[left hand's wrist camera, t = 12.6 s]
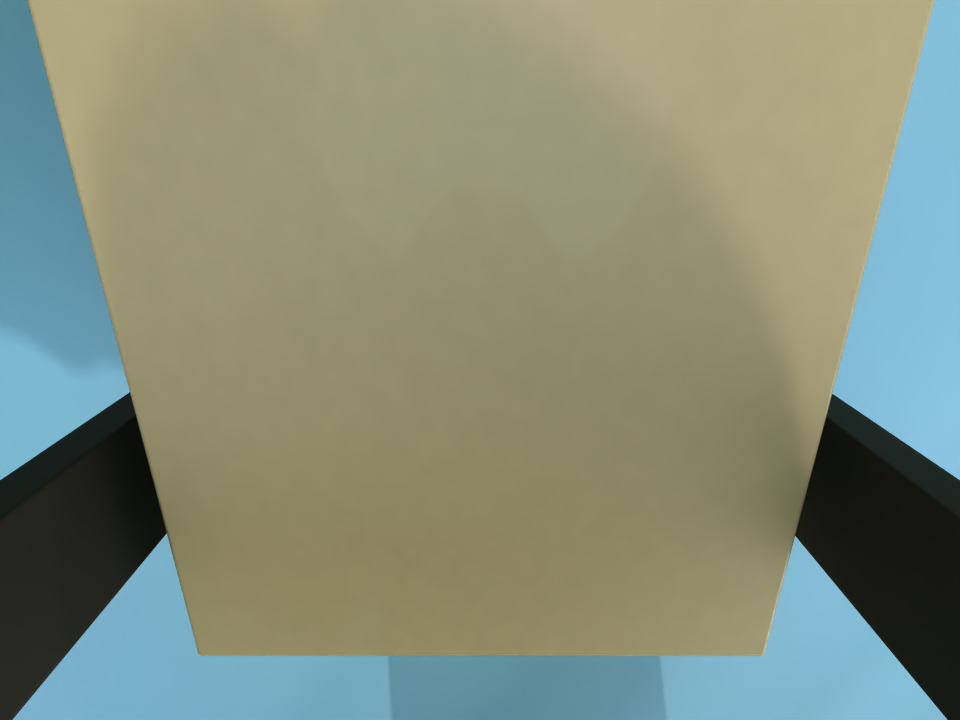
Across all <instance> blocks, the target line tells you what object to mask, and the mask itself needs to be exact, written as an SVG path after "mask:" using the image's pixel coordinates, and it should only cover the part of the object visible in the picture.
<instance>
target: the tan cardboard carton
mask: <svg viewBox="0 0 960 720" xmlns="http://www.w3.org/2000/svg"><path fill="white" fill-rule="evenodd" d="M28 4H29V8H30V12H31V15H32V19H33V23H34V27H35V31H36V34H37V38H38V42H39V46H40V50H41V54H42V57H43V61H44V65H45V69H46V73H47V76H48V80H49V84H50V88H51V92H52V96H53V99H54V103H55V107H56V111H57V115H58V119H59V122H60V126H61V130H62V134H63V138H64V141H65V145H66V149H67V153H68V157H69V161H70V164H71V168H72V172H73V176H74V180H75V183H76V187H77V191H78V195H79V199H80V203H81V206H82V210H83V214H84V218H85V222H86V226H87V229H88V233H89V237H90V241H91V245H92V248H93V252H94V256H95V260H96V264H97V268H98V271H99V275H100V279H101V283H102V287H103V290H104V294H105V298H106V302H107V306H108V310H109V313H110V317H111V321H112V325H113V329H114V333H115V336H116V340H117V344H118V348H119V352H120V355H121V359H122V363H123V367H124V371H125V375H126V378H127V382H128V386H129V390H130V394H131V397H132V401H133V405H134V409H135V413H136V417H137V420H138V424H139V428H140V432H141V436H142V440H143V443H144V447H145V451H146V455H147V459H148V462H149V466H150V470H151V474H152V478H153V482H154V485H155V489H156V493H157V497H158V501H159V504H160V508H161V512H162V516H163V520H164V524H165V527H166V531H167V535H168V539H169V543H170V547H171V550H172V554H173V558H174V562H175V566H176V569H177V573H178V577H179V581H180V585H181V589H182V592H183V596H184V600H185V604H186V608H187V611H188V615H189V619H190V623H191V627H192V631H193V634H194V638H195V642H196V646H197V650H198V653H199V654H200V655H202V656H761V655H763V654H764V653H765V649H766V645H767V641H768V637H769V634H770V630H771V626H772V622H773V618H774V614H775V611H776V607H777V603H778V599H779V595H780V591H781V587H782V584H783V580H784V576H785V572H786V568H787V564H788V561H789V557H790V553H791V549H792V545H793V541H794V538H795V534H796V530H797V526H798V522H799V518H800V515H801V511H802V507H803V503H804V499H805V495H806V492H807V488H808V484H809V480H810V476H811V472H812V468H813V465H814V461H815V457H816V453H817V449H818V445H819V442H820V438H821V434H822V430H823V426H824V422H825V419H826V415H827V411H828V407H829V403H830V399H831V396H832V392H833V388H834V384H835V380H836V376H837V373H838V369H839V365H840V361H841V357H842V353H843V349H844V346H845V342H846V338H847V334H848V330H849V326H850V323H851V319H852V315H853V311H854V307H855V303H856V300H857V296H858V292H859V288H860V284H861V280H862V277H863V273H864V269H865V265H866V261H867V257H868V254H869V250H870V246H871V242H872V238H873V234H874V230H875V227H876V223H877V219H878V215H879V211H880V207H881V204H882V200H883V196H884V192H885V188H886V184H887V181H888V177H889V173H890V169H891V165H892V161H893V158H894V154H895V150H896V146H897V142H898V138H899V134H900V131H901V127H902V123H903V119H904V115H905V111H906V108H907V104H908V100H909V96H910V92H911V88H912V85H913V81H914V77H915V73H916V69H917V65H918V62H919V58H920V54H921V50H922V46H923V42H924V39H925V35H926V31H927V27H928V23H929V19H930V15H931V12H932V8H933V4H934V0H28Z"/></svg>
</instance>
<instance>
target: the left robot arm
mask: <svg viewBox="0 0 960 720" xmlns="http://www.w3.org/2000/svg"><path fill="white" fill-rule="evenodd" d="M166 533H167V531H166V527H165V524H164V520H163V516H162V512H161V508H160V504H159V501H158V497H157V493H156V489H155V485H154V482H153V478H152V474H151V470H150V466H149V462H148V459H147V455H146V451H145V447H144V443H143V440H142V436H141V432H140V428H139V424H138V420H137V417H136V413H135V409H134V405H133V401H132V397H131V394H130V393H128V394H127V395H125V396H124V397H122V398H121V399H119V400H118V401H116V402H115V403H113V404H112V405H111V406H109V407H108V408H106V409H105V410H103V411H102V412H100V413H99V414H97V415H96V416H94V417H93V418H91V419H90V420H88V421H87V422H85V423H84V424H83V425H81V426H80V427H78V428H77V429H75V430H74V431H72V432H71V433H69V434H68V435H66V436H65V437H63V438H62V439H60V440H59V441H58V442H56V443H55V444H53V445H52V446H50V447H49V448H47V449H46V450H44V451H43V452H41V453H40V454H38V455H37V456H35V457H34V458H32V459H31V460H30V461H28V462H27V463H25V464H24V465H22V466H21V467H19V468H18V469H16V470H15V471H13V472H12V473H10V474H9V475H7V476H6V477H4V478H3V479H2V480H0V720H13V718H14V717H15V716H16V715H17V713H18V712H19V711H20V710H21V709H22V707H23V706H24V705H25V704H26V703H27V701H28V700H29V699H30V698H31V697H32V695H33V694H34V693H35V692H36V691H37V689H38V688H39V687H40V686H41V684H42V683H43V682H44V681H45V680H46V678H47V677H48V676H49V675H50V674H51V672H52V671H53V670H54V669H55V668H56V666H57V665H58V664H59V663H60V662H61V660H62V659H63V658H64V657H65V655H66V654H67V653H68V652H69V651H70V649H71V648H72V647H73V646H74V645H75V643H76V642H77V641H78V640H79V639H80V637H81V636H82V635H83V634H84V633H85V631H86V630H87V629H88V628H89V626H90V625H91V624H92V623H93V622H94V620H95V619H96V618H97V617H98V616H99V614H100V613H101V612H102V611H103V610H104V608H105V607H106V606H107V605H108V604H109V602H110V601H111V600H112V599H113V597H114V596H115V595H116V594H117V593H118V591H119V590H120V589H121V588H122V587H123V585H124V584H125V583H126V582H127V581H128V579H129V578H130V577H131V576H132V575H133V573H134V572H135V571H136V570H137V568H138V567H139V566H140V565H141V564H142V562H143V561H144V560H145V559H146V558H147V556H148V555H149V554H150V553H151V552H152V550H153V549H154V548H155V547H156V546H157V544H158V543H159V542H160V541H161V539H162V538H163V537H164V536H165V535H166ZM795 536H796V537H797V538H798V539H799V541H800V542H801V543H802V544H803V546H804V547H805V548H806V549H807V550H808V552H809V553H810V554H811V555H812V556H813V558H814V559H815V560H816V561H817V562H818V564H819V565H820V566H821V567H822V568H823V570H824V571H825V572H826V573H827V575H828V576H829V577H830V578H831V579H832V581H833V582H834V583H835V584H836V585H837V587H838V588H839V589H840V590H841V591H842V593H843V594H844V595H845V596H846V597H847V599H848V600H849V601H850V602H851V604H852V605H853V606H854V607H855V608H856V610H857V611H858V612H859V613H860V614H861V616H862V617H863V618H864V619H865V620H866V622H867V623H868V624H869V625H870V626H871V628H872V629H873V630H874V631H875V633H876V634H877V635H878V636H879V637H880V639H881V640H882V641H883V642H884V643H885V645H886V646H887V647H888V648H889V649H890V651H891V652H892V653H893V654H894V655H895V657H896V658H897V659H898V660H899V662H900V663H901V664H902V665H903V666H904V668H905V669H906V670H907V671H908V672H909V674H910V675H911V676H912V677H913V678H914V680H915V681H916V682H917V683H918V684H919V686H920V687H921V688H922V689H923V691H924V692H925V693H926V694H927V695H928V697H929V698H930V699H931V700H932V701H933V703H934V704H935V705H936V706H937V707H938V709H939V710H940V711H941V712H942V713H943V715H944V716H945V717H946V718H947V720H960V480H958V479H957V478H956V477H954V476H953V475H951V474H950V473H948V472H947V471H945V470H944V469H942V468H941V467H939V466H938V465H936V464H935V463H933V462H932V461H930V460H929V459H928V458H926V457H925V456H923V455H922V454H920V453H919V452H917V451H916V450H914V449H913V448H911V447H910V446H908V445H907V444H905V443H904V442H902V441H901V440H900V439H898V438H897V437H895V436H894V435H892V434H891V433H889V432H888V431H886V430H885V429H883V428H882V427H880V426H879V425H877V424H876V423H875V422H873V421H872V420H870V419H869V418H867V417H866V416H864V415H863V414H861V413H860V412H858V411H857V410H855V409H854V408H852V407H851V406H849V405H848V404H847V403H845V402H844V401H842V400H841V399H839V398H838V397H836V396H835V395H833V394H832V396H831V399H830V403H829V407H828V411H827V415H826V419H825V422H824V426H823V430H822V434H821V438H820V442H819V445H818V449H817V453H816V457H815V461H814V465H813V468H812V472H811V476H810V480H809V484H808V488H807V492H806V495H805V499H804V503H803V507H802V511H801V515H800V518H799V522H798V526H797V530H796V534H795Z"/></svg>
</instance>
